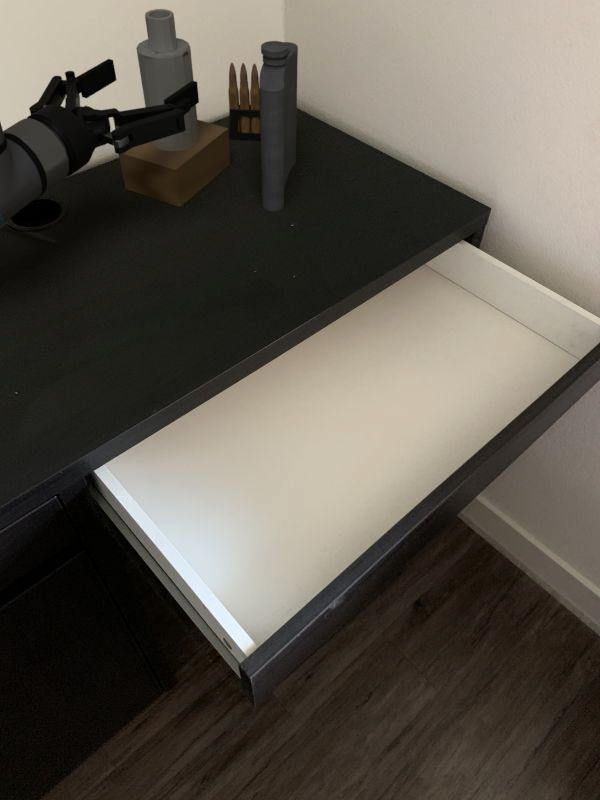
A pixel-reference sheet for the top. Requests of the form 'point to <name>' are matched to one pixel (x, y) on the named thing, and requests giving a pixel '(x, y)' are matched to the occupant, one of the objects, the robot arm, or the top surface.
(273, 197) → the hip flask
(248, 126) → the ammunition clip
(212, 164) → the plinth
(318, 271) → the top surface
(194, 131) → the bottle
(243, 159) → the top surface
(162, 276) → the top surface
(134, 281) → the top surface
